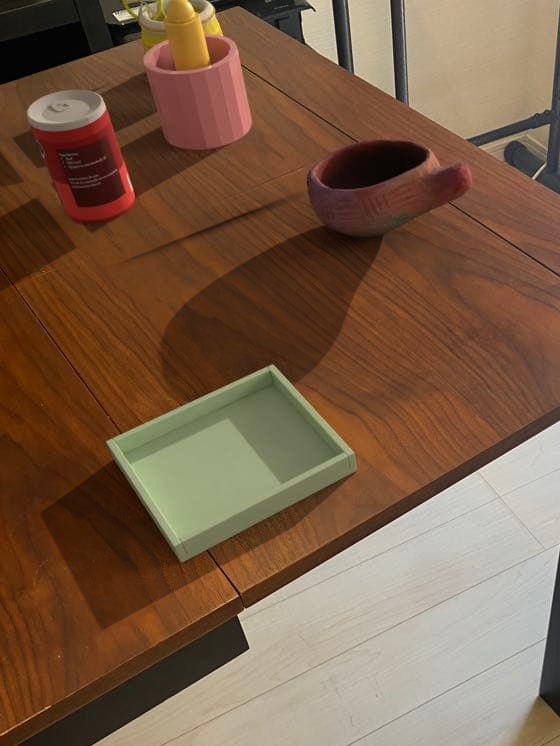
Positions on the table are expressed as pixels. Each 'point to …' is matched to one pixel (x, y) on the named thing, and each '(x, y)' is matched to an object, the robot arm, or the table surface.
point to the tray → (230, 460)
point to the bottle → (186, 36)
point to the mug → (156, 12)
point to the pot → (200, 96)
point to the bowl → (381, 186)
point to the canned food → (82, 155)
